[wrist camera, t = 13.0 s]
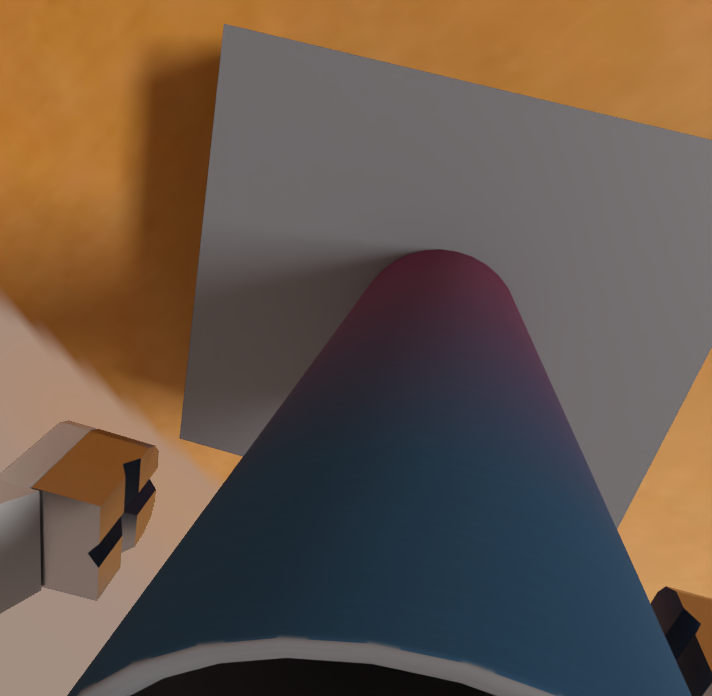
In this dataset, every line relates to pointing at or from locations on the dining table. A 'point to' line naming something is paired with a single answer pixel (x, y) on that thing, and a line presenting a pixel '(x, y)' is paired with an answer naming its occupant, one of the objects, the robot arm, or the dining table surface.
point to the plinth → (446, 238)
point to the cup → (403, 528)
